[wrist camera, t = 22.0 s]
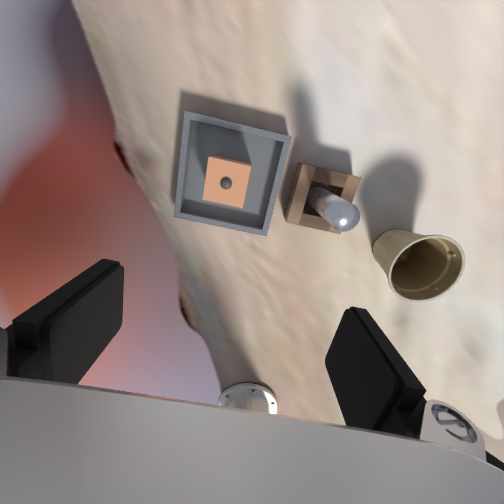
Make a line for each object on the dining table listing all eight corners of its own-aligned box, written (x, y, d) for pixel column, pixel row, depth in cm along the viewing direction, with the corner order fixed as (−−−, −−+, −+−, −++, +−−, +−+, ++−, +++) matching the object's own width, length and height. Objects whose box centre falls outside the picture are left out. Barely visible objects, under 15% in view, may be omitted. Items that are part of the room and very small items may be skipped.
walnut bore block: (334, 228, 38) (340, 234, 36) (284, 217, 38) (286, 222, 35) (352, 175, 36) (361, 177, 33) (298, 162, 35) (302, 163, 32)
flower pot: (352, 237, 39) (377, 260, 31) (410, 206, 37) (453, 221, 29) (374, 282, 42) (403, 313, 34) (429, 255, 40) (473, 281, 32)
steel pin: (323, 209, 37) (353, 234, 26) (304, 205, 37) (326, 228, 26) (330, 189, 36) (364, 206, 25) (310, 185, 36) (336, 200, 25)
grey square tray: (265, 231, 39) (266, 236, 36) (178, 212, 38) (173, 216, 35) (289, 137, 34) (291, 136, 31) (189, 113, 33) (184, 110, 30)
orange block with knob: (244, 199, 36) (242, 208, 31) (210, 191, 36) (202, 199, 30) (251, 163, 34) (251, 166, 29) (215, 155, 34) (208, 156, 28)
